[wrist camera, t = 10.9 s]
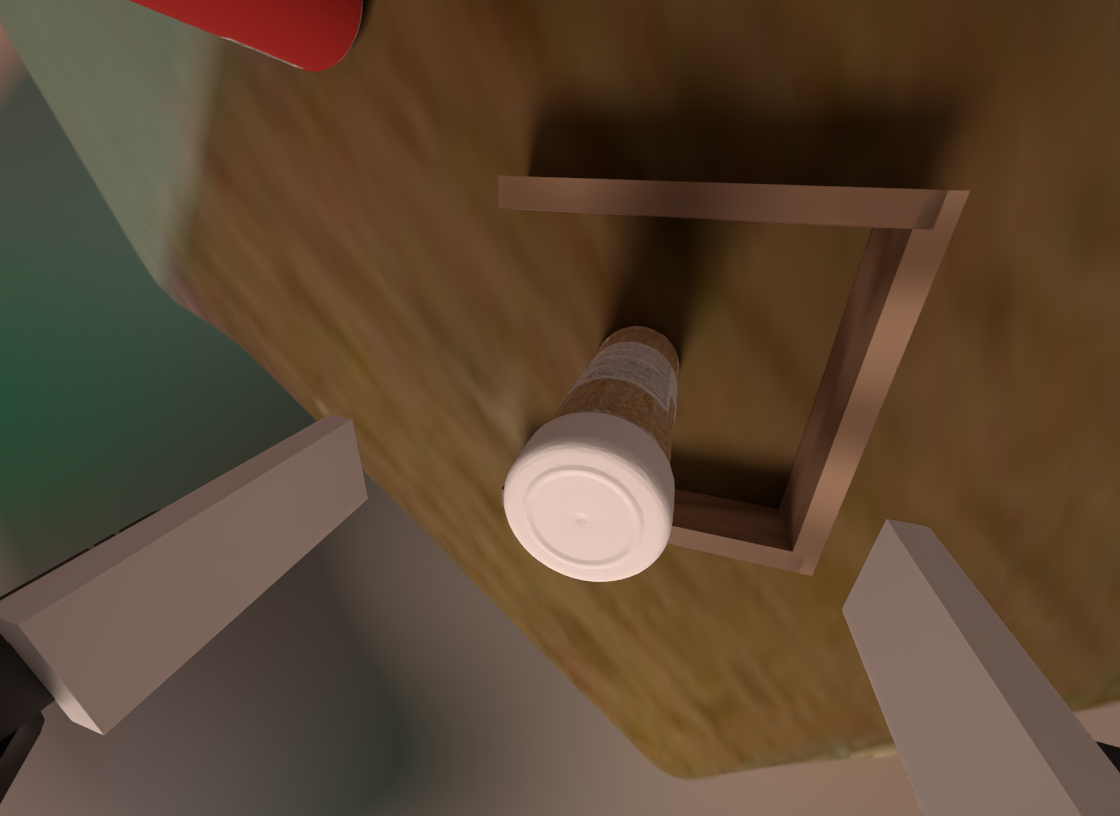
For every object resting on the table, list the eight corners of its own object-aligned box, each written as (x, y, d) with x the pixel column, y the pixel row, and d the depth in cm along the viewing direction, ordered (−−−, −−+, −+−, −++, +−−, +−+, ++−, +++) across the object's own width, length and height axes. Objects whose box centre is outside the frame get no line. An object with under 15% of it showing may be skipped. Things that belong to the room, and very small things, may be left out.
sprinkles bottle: (648, 418, 24) (608, 616, 12) (580, 375, 24) (472, 527, 12) (699, 352, 21) (713, 513, 9) (624, 305, 21) (545, 406, 10)
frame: (526, 183, 20) (497, 175, 17) (917, 197, 17) (970, 190, 14) (522, 474, 27) (501, 505, 24) (796, 530, 24) (812, 575, 21)
